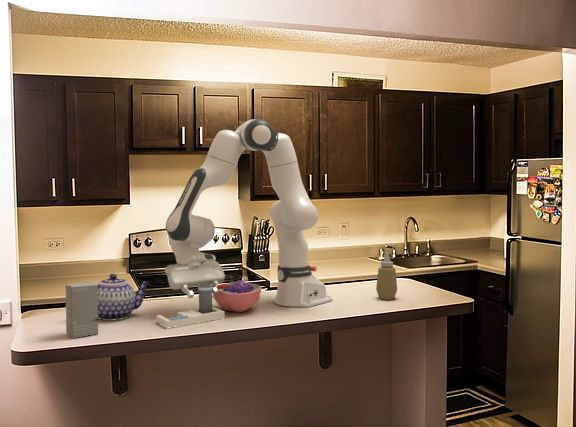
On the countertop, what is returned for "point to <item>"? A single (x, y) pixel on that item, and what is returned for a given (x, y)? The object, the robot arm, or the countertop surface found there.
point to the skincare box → (81, 309)
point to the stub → (205, 299)
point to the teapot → (118, 298)
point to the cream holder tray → (190, 317)
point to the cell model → (237, 295)
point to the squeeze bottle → (386, 279)
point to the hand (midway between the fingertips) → (203, 295)
